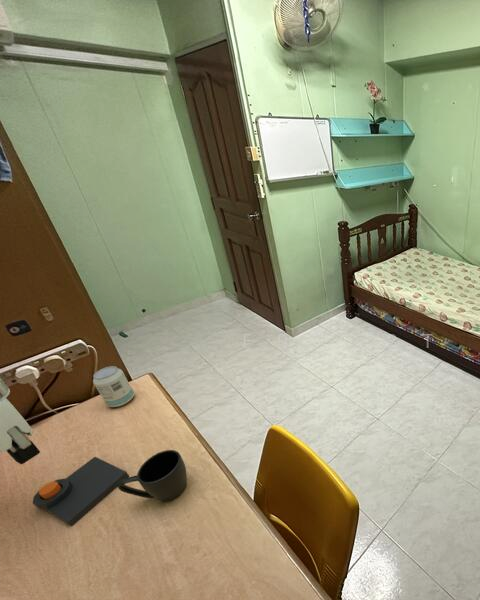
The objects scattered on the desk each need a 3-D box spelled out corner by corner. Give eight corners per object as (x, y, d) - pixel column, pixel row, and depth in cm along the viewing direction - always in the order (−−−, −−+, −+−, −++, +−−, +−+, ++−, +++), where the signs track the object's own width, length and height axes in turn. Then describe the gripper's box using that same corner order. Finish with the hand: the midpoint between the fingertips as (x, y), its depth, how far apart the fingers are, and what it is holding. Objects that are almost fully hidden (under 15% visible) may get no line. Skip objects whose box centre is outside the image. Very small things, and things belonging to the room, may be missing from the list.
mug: (137, 488, 76) (121, 464, 71) (194, 468, 80) (182, 444, 76) (128, 522, 69) (110, 497, 65) (191, 498, 74) (177, 474, 69)
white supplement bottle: (136, 389, 104) (121, 361, 98) (134, 403, 98) (118, 375, 93) (110, 397, 100) (93, 369, 95) (106, 412, 95) (87, 383, 89)
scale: (35, 507, 71) (26, 499, 70) (97, 460, 82) (90, 451, 80) (69, 528, 68) (61, 520, 66) (129, 476, 78) (123, 467, 76)
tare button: (39, 496, 71) (35, 491, 70) (56, 483, 73) (52, 479, 72) (47, 501, 70) (43, 496, 69) (64, 488, 72) (60, 483, 71)
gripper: (-76, 398, 58) (-15, 460, 67) (-33, 423, 53) (26, 486, 62) (-17, 373, 64) (31, 432, 73) (26, 393, 60) (71, 454, 68)
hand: (28, 457), depth 68 cm, fingers closed
